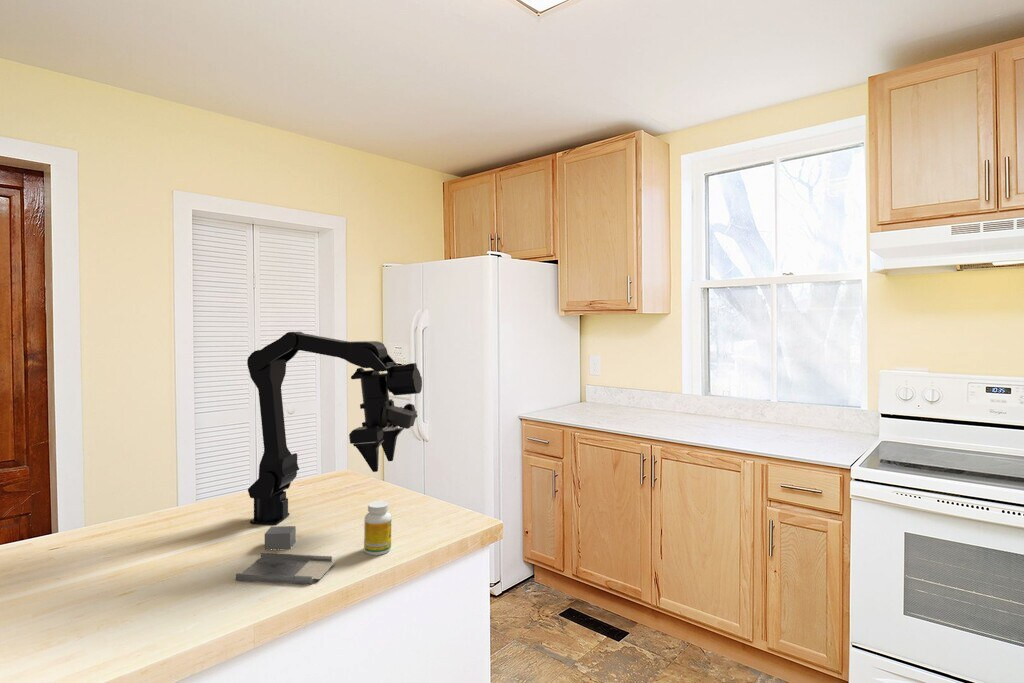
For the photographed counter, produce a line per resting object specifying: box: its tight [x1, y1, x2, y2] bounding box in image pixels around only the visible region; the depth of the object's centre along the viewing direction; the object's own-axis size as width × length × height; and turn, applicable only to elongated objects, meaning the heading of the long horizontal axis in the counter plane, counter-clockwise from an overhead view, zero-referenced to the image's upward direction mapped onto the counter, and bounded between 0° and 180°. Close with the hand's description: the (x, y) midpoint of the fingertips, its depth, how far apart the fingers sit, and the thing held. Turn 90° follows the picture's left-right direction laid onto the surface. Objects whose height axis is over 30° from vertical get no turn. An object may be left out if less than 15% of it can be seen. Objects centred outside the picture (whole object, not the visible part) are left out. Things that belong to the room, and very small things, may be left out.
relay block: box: [264, 525, 297, 551], centre depth 115 cm, size 5×4×4 cm
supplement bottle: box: [363, 500, 392, 556], centre depth 114 cm, size 5×5×10 cm
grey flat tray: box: [235, 552, 336, 585], centre depth 104 cm, size 15×9×1 cm, turn 86°
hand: (383, 466), depth 125 cm, fingers open, 9 cm apart
